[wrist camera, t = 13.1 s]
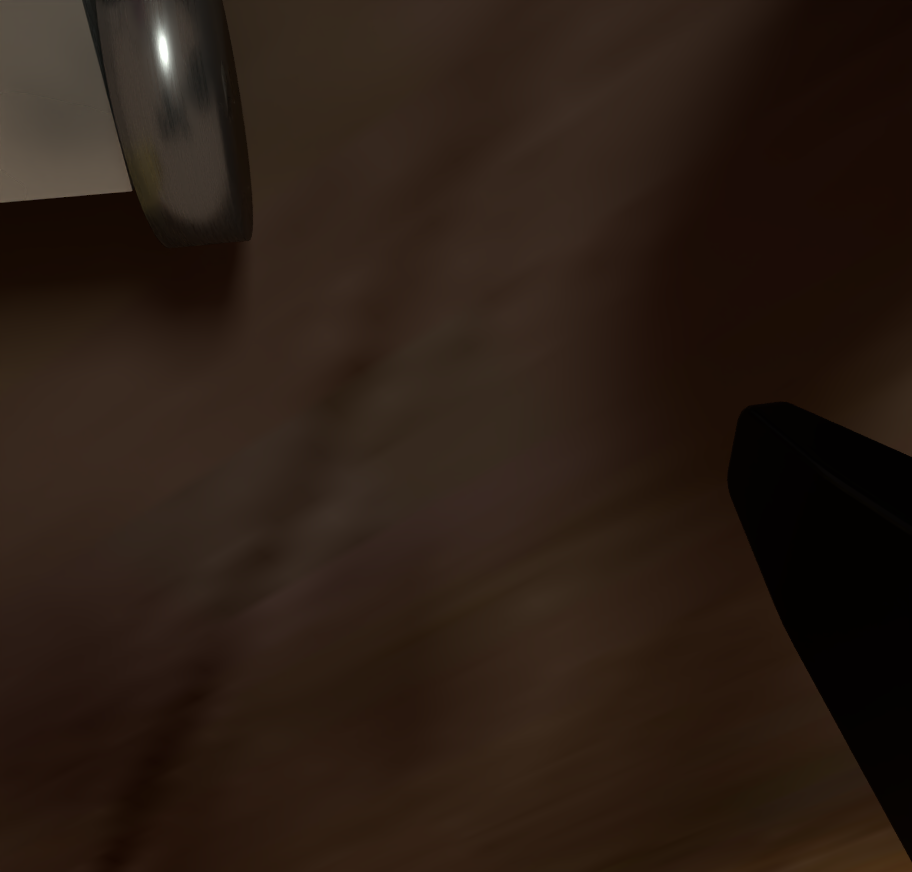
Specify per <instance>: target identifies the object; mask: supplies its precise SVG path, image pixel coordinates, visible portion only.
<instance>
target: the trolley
mask: <svg viewBox="0 0 912 872" xmlns="http://www.w3.org/2000/svg"><path fill="white" fill-rule="evenodd" d="M134 188H135V190H136V193H137V196H138V199H139V202H140V204H141V207H142V209H143V211H144V214H145V216H146V218H147V220H148V223H149V225H150V227H151V229H152V230H153V232H154V234H155V236H156V237H157V239H158V240H159V241H160V243H161V244H163V245H164V246H165V247H167V248H176V247H186V246H197V245H208V244H218V243H229V242H239V241H249V240H251V237H252V231H253V205H252V189H251V177H250V167H249V158H248V149H247V141H246V134H245V126H244V119H243V112H242V105H241V99H240V92H239V86H238V80H237V74H236V68H235V62H234V57H233V51H232V46H231V40H230V35H229V30H228V25H227V20H226V15H225V10H224V6H223V1H222V0H0V203H2V202H13V201H25V200H36V199H48V198H59V197H71V196H82V195H94V194H105V193H117V192H128V191H133V189H134Z"/></svg>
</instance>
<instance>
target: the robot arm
mask: <svg viewBox="0 0 912 872" xmlns="http://www.w3.org/2000/svg"><path fill="white" fill-rule="evenodd" d="M727 481H728V489H729V493H730V496H731V499H732V502H733V504H734V506H735V509H736V511H737V514H738V516H739V519H740V521H741V524H742V526H743V529H744V531H745V534H746V536H747V539H748V541H749V544H750V546H751V548H752V551H753V553H754V556H755V558H756V561H757V563H758V566H759V568H760V571H761V573H762V576H763V578H764V581H765V583H766V586H767V588H768V590H769V593H770V595H771V598H772V600H773V603H774V605H775V607H776V610H777V612H778V614H779V616H780V619H781V621H782V623H783V625H784V627H785V629H786V631H787V633H788V635H789V637H790V639H791V641H792V643H793V645H794V647H795V649H796V650H797V652H798V654H799V656H800V658H801V660H802V661H803V663H804V665H805V667H806V669H807V671H808V672H809V674H810V676H811V678H812V680H813V682H814V683H815V685H816V687H817V689H818V691H819V693H820V694H821V696H822V698H823V700H824V702H825V704H826V705H827V707H828V709H829V711H830V713H831V715H832V716H833V718H834V720H835V722H836V724H837V726H838V728H839V729H840V731H841V733H842V735H843V737H844V739H845V740H846V742H847V744H848V746H849V748H850V750H851V751H852V753H853V755H854V757H855V759H856V761H857V762H858V764H859V766H860V768H861V770H862V772H863V773H864V775H865V777H866V779H867V781H868V783H869V784H870V786H871V788H872V790H873V792H874V794H875V795H876V797H877V799H878V801H879V803H880V805H881V806H882V808H883V810H884V812H885V814H886V816H887V817H888V819H889V821H890V823H891V825H892V827H893V828H894V830H895V832H896V834H897V836H898V838H899V839H900V841H901V843H902V845H903V847H904V849H905V850H906V852H907V854H908V856H909V858H910V860H911V861H912V457H911V456H908V455H906V454H904V453H901V452H899V451H897V450H895V449H892V448H890V447H888V446H886V445H883V444H881V443H879V442H877V441H874V440H872V439H870V438H868V437H865V436H863V435H861V434H858V433H856V432H854V431H852V430H849V429H847V428H845V427H843V426H840V425H838V424H836V423H834V422H831V421H829V420H827V419H824V418H822V417H820V416H818V415H815V414H813V413H811V412H809V411H806V410H804V409H802V408H800V407H797V406H795V405H793V404H790V403H788V402H774V403H766V404H758V405H751V406H748V407H746V408H745V409H744V410H743V411H742V412H741V414H740V416H739V418H738V422H737V427H736V432H735V437H734V442H733V447H732V452H731V457H730V463H729V468H728V476H727Z"/></svg>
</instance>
